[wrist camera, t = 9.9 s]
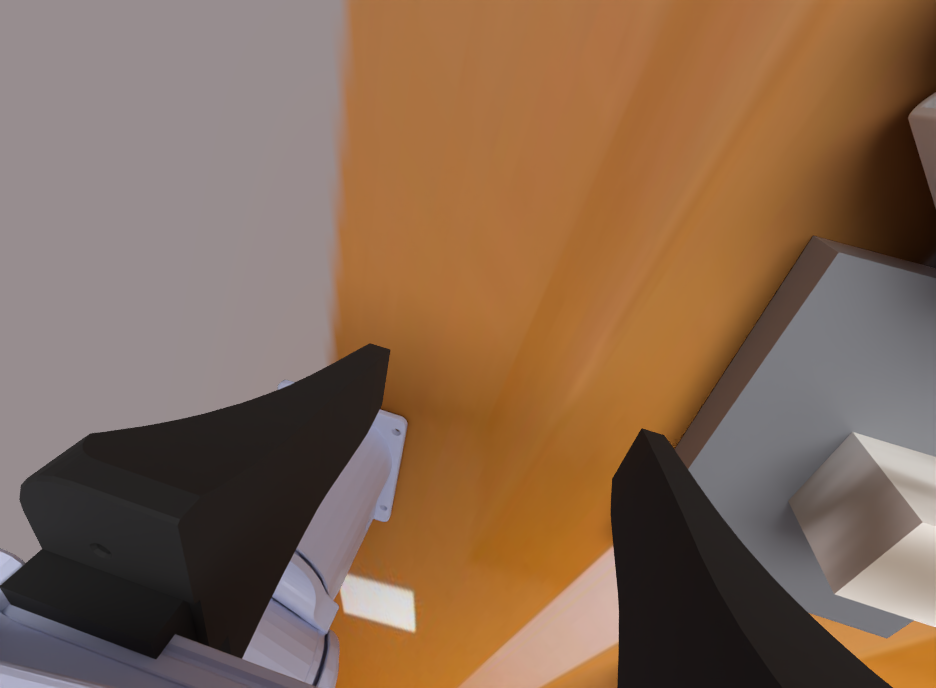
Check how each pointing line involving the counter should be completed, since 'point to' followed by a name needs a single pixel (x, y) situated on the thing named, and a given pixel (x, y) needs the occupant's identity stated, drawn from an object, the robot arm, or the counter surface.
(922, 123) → the cable organizer
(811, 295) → the base plate
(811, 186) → the counter surface
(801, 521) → the ash cube
